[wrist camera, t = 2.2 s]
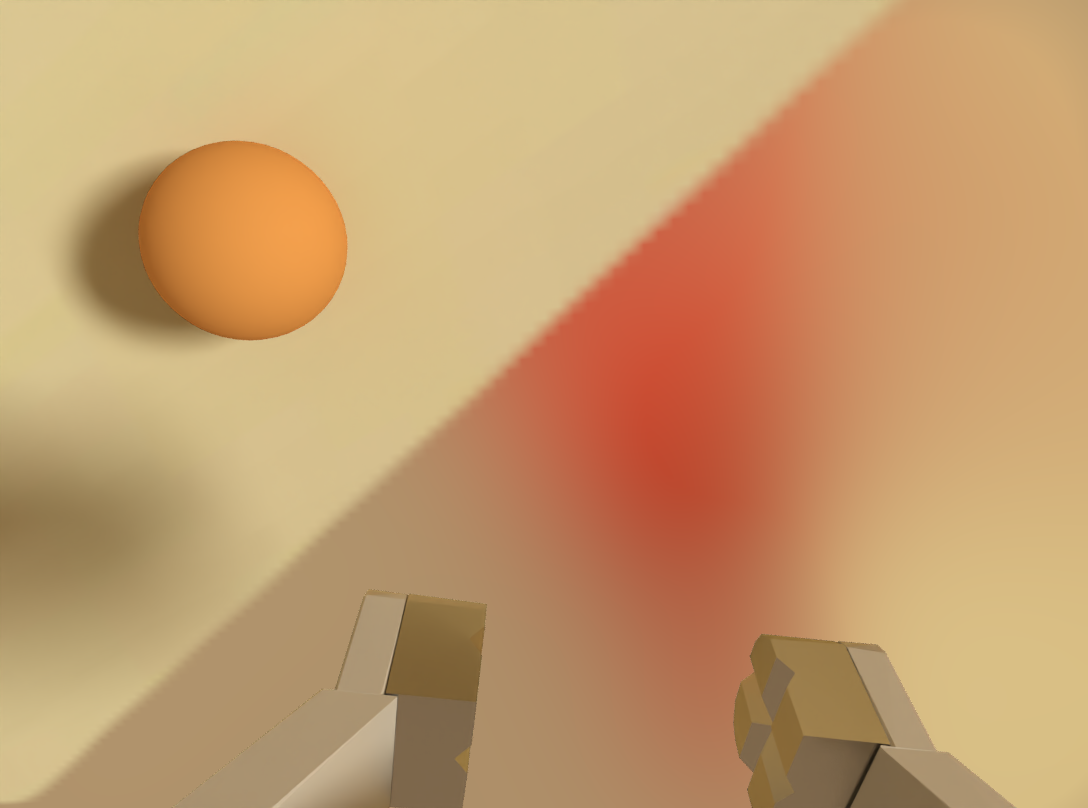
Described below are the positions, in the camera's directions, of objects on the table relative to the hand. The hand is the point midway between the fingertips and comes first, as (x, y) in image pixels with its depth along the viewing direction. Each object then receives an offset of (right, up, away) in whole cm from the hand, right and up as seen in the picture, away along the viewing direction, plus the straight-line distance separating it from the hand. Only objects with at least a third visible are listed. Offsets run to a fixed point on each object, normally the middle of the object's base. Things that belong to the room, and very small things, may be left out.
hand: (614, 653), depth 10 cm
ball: (-9, +8, +12) cm, 17 cm away
